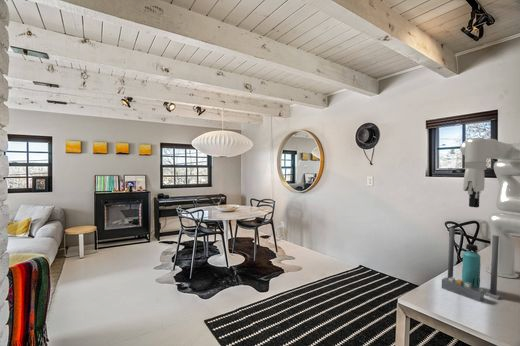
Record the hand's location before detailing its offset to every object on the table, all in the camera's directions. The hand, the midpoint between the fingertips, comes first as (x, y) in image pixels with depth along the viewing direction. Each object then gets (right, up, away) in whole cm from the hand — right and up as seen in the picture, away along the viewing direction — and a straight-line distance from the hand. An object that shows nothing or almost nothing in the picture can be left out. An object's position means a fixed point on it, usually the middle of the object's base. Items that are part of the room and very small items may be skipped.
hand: (473, 206), depth 117 cm
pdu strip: (-9, -37, -4) cm, 38 cm away
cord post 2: (+3, -37, -6) cm, 38 cm away
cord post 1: (-5, -37, +7) cm, 38 cm away
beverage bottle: (-1, -37, +1) cm, 37 cm away
